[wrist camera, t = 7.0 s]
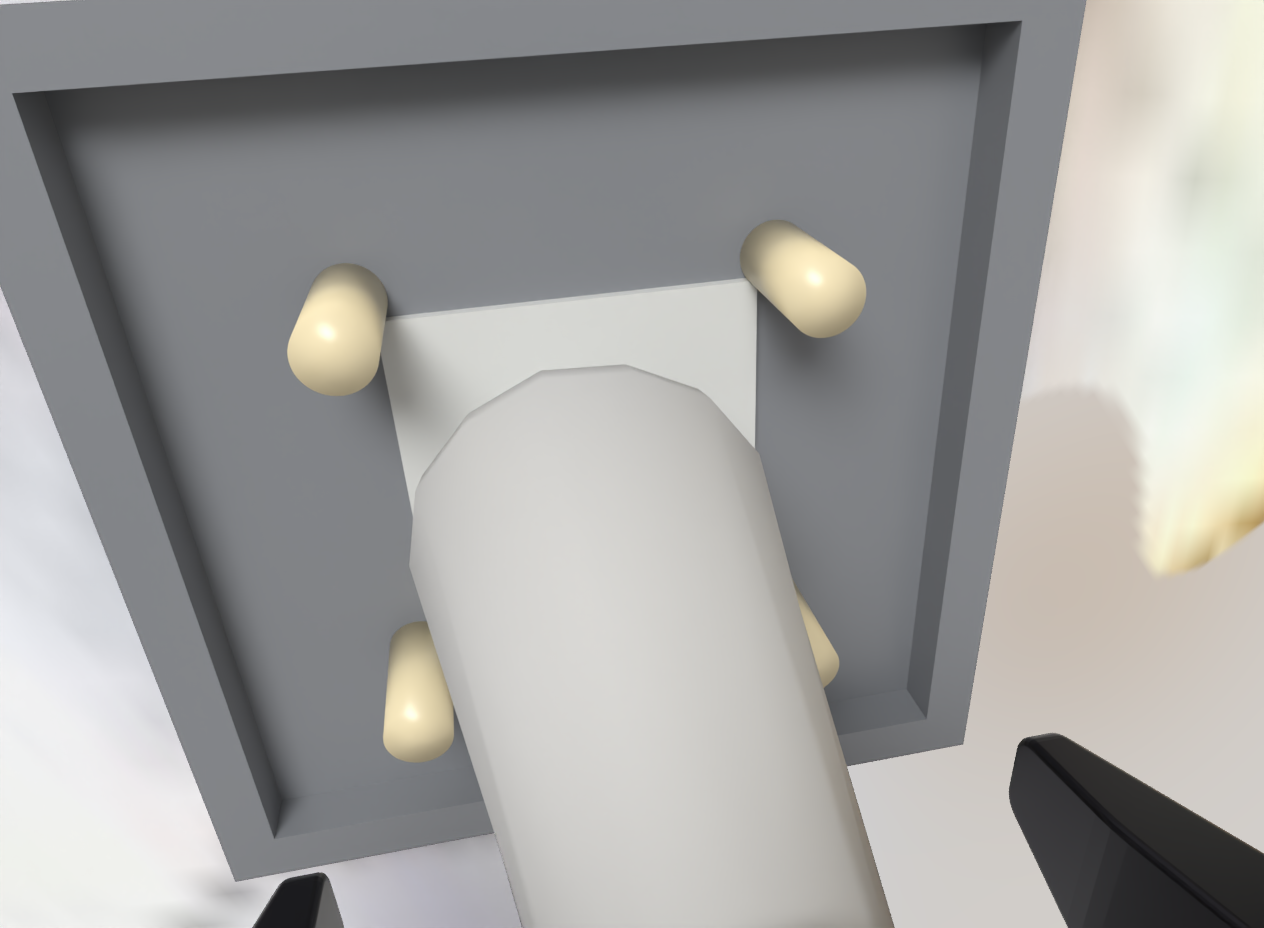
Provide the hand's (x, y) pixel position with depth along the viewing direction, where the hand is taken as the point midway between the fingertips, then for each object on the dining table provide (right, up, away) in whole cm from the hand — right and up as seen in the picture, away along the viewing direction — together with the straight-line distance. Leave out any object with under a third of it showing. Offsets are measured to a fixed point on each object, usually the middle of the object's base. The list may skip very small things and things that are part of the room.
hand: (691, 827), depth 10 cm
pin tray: (-2, +4, +8) cm, 10 cm away
